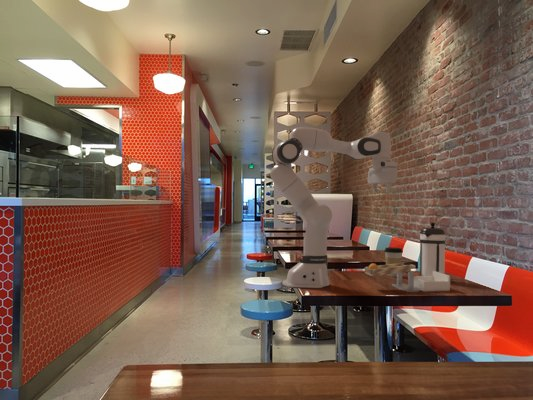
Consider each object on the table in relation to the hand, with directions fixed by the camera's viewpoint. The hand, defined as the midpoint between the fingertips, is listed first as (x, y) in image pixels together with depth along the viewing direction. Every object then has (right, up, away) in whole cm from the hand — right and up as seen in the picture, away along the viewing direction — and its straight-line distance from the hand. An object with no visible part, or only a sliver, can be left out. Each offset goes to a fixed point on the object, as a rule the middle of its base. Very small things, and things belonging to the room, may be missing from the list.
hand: (381, 192), depth 204 cm
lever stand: (+8, -45, -11) cm, 47 cm away
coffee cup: (+13, -45, +24) cm, 53 cm away
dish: (+20, -45, -9) cm, 50 cm away
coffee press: (+31, -46, +15) cm, 57 cm away
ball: (-7, -35, -13) cm, 38 cm away
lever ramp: (+2, -38, -7) cm, 38 cm away
